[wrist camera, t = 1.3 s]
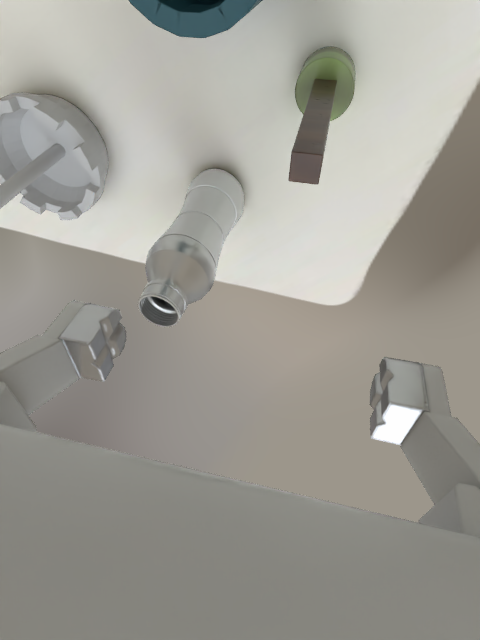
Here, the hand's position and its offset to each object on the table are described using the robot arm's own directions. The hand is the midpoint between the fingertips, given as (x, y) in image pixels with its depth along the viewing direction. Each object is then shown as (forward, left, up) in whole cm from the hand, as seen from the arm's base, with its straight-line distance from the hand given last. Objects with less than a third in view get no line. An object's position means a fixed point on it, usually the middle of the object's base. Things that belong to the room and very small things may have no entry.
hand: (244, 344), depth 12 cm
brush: (+1, 0, -32) cm, 32 cm away
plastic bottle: (+13, -10, -32) cm, 36 cm away
